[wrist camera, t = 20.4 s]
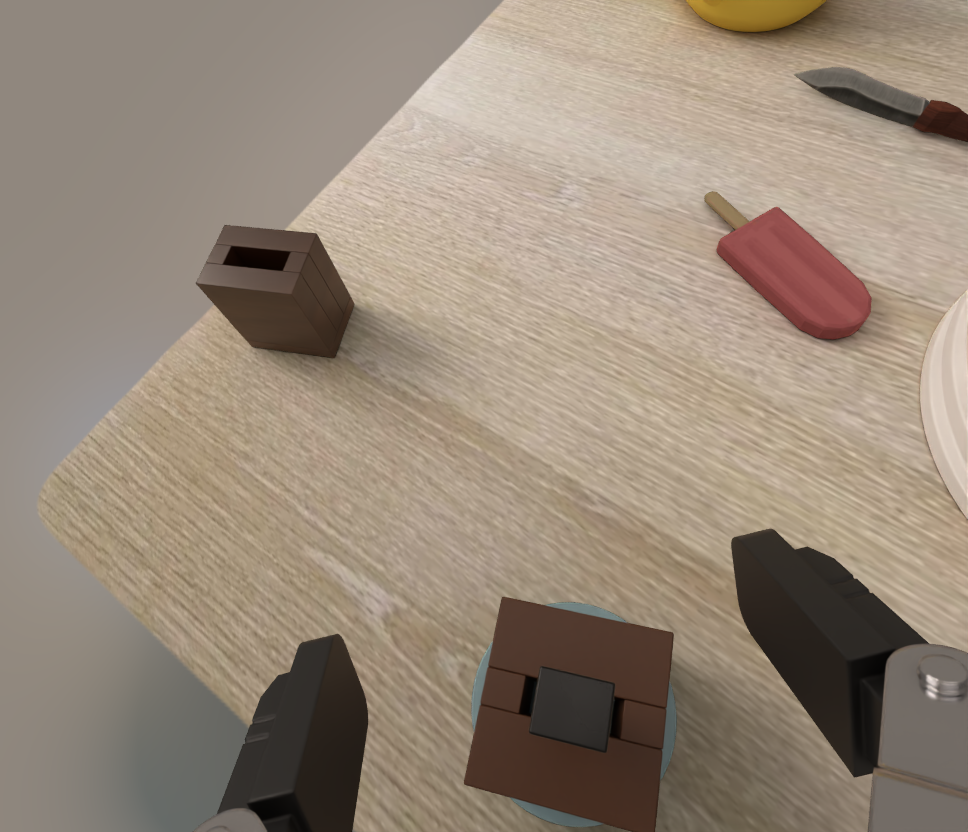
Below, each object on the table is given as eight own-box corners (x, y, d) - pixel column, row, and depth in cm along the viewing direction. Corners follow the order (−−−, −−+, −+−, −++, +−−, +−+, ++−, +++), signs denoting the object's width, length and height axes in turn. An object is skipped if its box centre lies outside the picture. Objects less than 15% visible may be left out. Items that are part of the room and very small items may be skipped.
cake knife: (597, 735, 33) (617, 756, 18) (541, 721, 33) (518, 731, 19) (602, 695, 33) (625, 685, 19) (548, 681, 34) (530, 662, 20)
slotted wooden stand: (663, 851, 31) (690, 894, 24) (453, 791, 33) (420, 814, 26) (683, 626, 35) (711, 605, 28) (496, 587, 38) (478, 559, 30)
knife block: (334, 358, 46) (291, 294, 39) (251, 347, 48) (195, 283, 41) (354, 303, 48) (316, 233, 41) (274, 294, 50) (224, 224, 43)
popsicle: (738, 170, 47) (893, 303, 41) (733, 185, 48) (882, 316, 42) (681, 202, 46) (829, 342, 40) (677, 217, 48) (820, 355, 41)
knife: (785, 91, 52) (796, 57, 49) (793, 80, 52) (806, 46, 50) (1023, 173, 45) (1052, 140, 43) (1031, 160, 46) (1060, 126, 43)
